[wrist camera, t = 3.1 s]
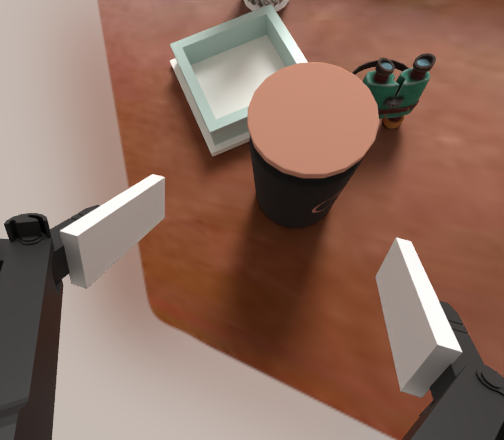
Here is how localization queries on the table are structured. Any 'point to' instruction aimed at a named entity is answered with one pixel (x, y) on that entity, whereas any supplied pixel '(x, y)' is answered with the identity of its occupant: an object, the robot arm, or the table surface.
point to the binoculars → (397, 86)
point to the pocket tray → (231, 72)
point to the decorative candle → (265, 4)
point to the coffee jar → (308, 139)
